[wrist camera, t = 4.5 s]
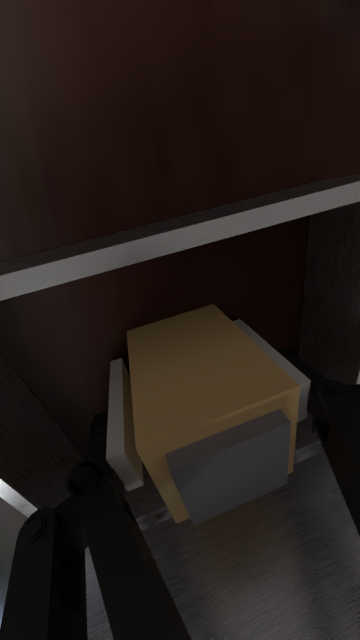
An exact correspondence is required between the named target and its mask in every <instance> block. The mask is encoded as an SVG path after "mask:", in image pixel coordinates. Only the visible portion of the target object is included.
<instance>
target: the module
mask: <svg viewBox="0 0 360 640" xmlns="http://www.w3.org/2000/svg"><path fill="white" fill-rule="evenodd" d="M127 342H128V354H129V367H130V380H131V393H132V406H133V419H134V432H135V444H136V450H137V452H138V454H139V456H140V458H141V460H142V461H143V463H144V465H145V467H146V469H147V471H148V472H149V474H150V476H151V478H152V480H153V482H154V483H155V485H156V487H157V489H158V491H159V493H160V494H161V496H162V498H163V500H164V502H165V504H166V505H167V507H168V509H169V511H170V513H171V515H172V516H173V518H174V520H175V522H176V524H177V523H179V522H181V521H183V520H186V519H188V518H190V519H191V521H192V523H193V525H194V526H195V525H197V524H199V523H201V522H204V521H206V520H208V519H210V518H213V517H215V516H217V515H219V514H222V513H224V512H226V511H228V510H231V509H233V508H235V507H237V506H240V505H242V504H244V503H246V502H248V501H251V500H253V499H255V498H257V497H260V496H262V495H264V494H266V493H269V492H271V491H273V490H275V489H278V488H280V487H282V486H284V485H287V479H288V474H290V473H292V472H293V464H294V452H295V440H296V429H297V417H298V405H299V393H300V385H299V384H298V383H297V382H296V381H294V380H293V379H292V378H291V377H290V376H289V375H288V374H287V373H286V372H285V371H284V370H283V369H282V368H281V367H280V366H279V365H278V364H277V363H276V362H274V361H273V360H272V359H271V358H270V357H269V356H268V355H267V354H266V353H265V352H264V351H263V350H262V349H261V348H260V347H259V346H258V345H257V344H256V343H254V342H253V341H252V340H251V339H250V338H249V337H248V336H247V335H246V334H245V333H244V332H243V331H242V330H241V329H240V328H239V327H238V326H237V325H236V324H234V323H233V322H232V321H231V320H230V319H229V318H228V317H227V316H226V315H225V314H224V313H223V312H222V311H221V310H220V309H219V308H218V307H217V306H215V305H214V304H211V305H208V306H205V307H201V308H198V309H195V310H192V311H189V312H186V313H182V314H179V315H176V316H173V317H170V318H167V319H163V320H160V321H157V322H154V323H151V324H148V325H144V326H141V327H138V328H135V329H132V330H129V331H127Z"/></svg>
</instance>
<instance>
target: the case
mask: <svg viewBox="0 0 360 640" xmlns="http://www.w3.org/2000/svg"><path fill="white" fill-rule="evenodd" d="M308 215H309V228H308V241H307V255H306V268H305V281H304V295H303V308H302V322H301V335H300V348H299V358H302V359H303V360H304V361H305V362H307V363H308V364H309V365H310V366H312V367H313V368H314V369H315V370H317V371H318V372H319V373H321V374H322V375H323V376H324V377H326V378H327V379H334V380H337V381H340V382H342V383H344V384H346V385H353V384H360V174H356V175H350V176H344V177H337V178H331V179H325V180H320V181H316V182H312V183H308V184H304V185H300V186H296V187H293V188H289V189H285V190H281V191H277V192H273V193H269V194H265V195H261V196H257V197H254V198H250V199H246V200H242V201H238V202H234V203H230V204H226V205H222V206H218V207H214V208H211V209H207V210H203V211H199V212H195V213H191V214H187V215H183V216H179V217H175V218H172V219H168V220H164V221H160V222H156V223H152V224H148V225H144V226H140V227H136V228H133V229H129V230H125V231H121V232H117V233H113V234H109V235H105V236H101V237H97V238H93V239H90V240H86V241H82V242H78V243H74V244H70V245H66V246H62V247H58V248H54V249H51V250H47V251H43V252H39V253H35V254H31V255H27V256H23V257H19V258H15V259H12V260H8V261H4V262H0V301H1V300H5V299H9V298H12V297H16V296H19V295H23V294H27V293H30V292H34V291H37V290H41V289H45V288H48V287H52V286H55V285H59V284H63V283H66V282H70V281H73V280H77V279H81V278H84V277H88V276H92V275H95V274H99V273H102V272H106V271H110V270H113V269H117V268H120V267H124V266H128V265H131V264H135V263H138V262H142V261H146V260H149V259H153V258H156V257H160V256H164V255H167V254H171V253H175V252H178V251H182V250H185V249H189V248H193V247H196V246H200V245H203V244H207V243H211V242H214V241H218V240H221V239H225V238H229V237H232V236H236V235H239V234H243V233H247V232H250V231H254V230H258V229H261V228H265V227H268V226H272V225H276V224H279V223H283V222H286V221H290V220H294V219H297V218H301V217H304V216H308ZM312 420H313V417H312V415H311V414H310V413H309V412H308V411H307V417H306V419H304V420H302V421H299V422H297V429H296V440H295V452H294V464H293V472H292V473H290V474H288V479H287V485H284V486H282V487H280V488H278V489H275V490H273V491H271V492H269V493H266V494H264V495H262V496H260V497H257V498H255V499H253V500H251V501H248V502H246V503H244V504H242V505H240V506H237V507H235V508H233V509H231V510H228V511H226V512H224V513H222V514H219V515H217V516H215V517H213V518H210V519H208V520H206V521H204V522H201V523H199V524H197V525H195V526H194V525H193V523H192V521H191V519H190V518H188V519H186V520H183V521H181V522H179V523H177V524H176V522H175V520H174V518H173V516H172V515H171V513H170V511H169V509H168V507H167V505H166V504H165V502H164V500H163V498H162V496H161V494H160V493H159V491H158V489H157V487H156V485H155V483H154V482H153V480H152V478H151V476H150V474H149V472H148V471H147V469H146V467H145V465H144V463H143V461H142V471H143V481H144V485H143V486H140V487H138V488H135V489H133V490H130V491H127V489H126V488H125V486H124V490H125V499H126V500H127V502H128V504H129V506H130V508H131V510H132V512H133V515H134V517H135V519H136V521H137V523H138V525H139V528H140V530H141V532H142V534H143V536H144V538H145V540H146V543H147V545H148V547H149V549H150V551H151V553H152V555H153V558H154V560H155V562H156V564H157V566H158V568H159V571H160V573H161V575H162V577H163V579H164V581H165V583H166V586H167V588H168V590H169V592H170V594H171V596H172V599H173V601H174V603H175V605H176V607H177V609H178V611H179V614H180V616H181V618H182V620H183V622H184V624H185V627H186V629H187V631H188V633H189V635H190V637H191V639H192V640H360V536H359V534H358V532H357V529H356V527H355V524H354V522H353V519H352V517H351V514H350V512H349V510H348V507H347V505H346V502H345V500H344V497H343V495H342V493H341V490H340V488H339V485H338V483H337V480H336V478H335V475H334V473H333V471H332V468H331V466H330V463H329V461H328V458H327V456H326V454H325V451H324V449H323V446H322V444H321V441H320V439H319V437H318V434H317V432H316V429H315V433H312V430H311V428H312ZM82 460H84V458H83V457H82V456H81V455H80V453H79V452H78V451H77V449H76V448H75V447H74V446H73V444H72V443H71V442H70V440H69V439H68V438H67V437H66V435H65V434H64V433H63V432H62V430H61V429H60V428H59V426H58V425H57V424H56V423H55V421H54V420H53V419H52V417H51V416H50V415H49V414H48V412H47V411H46V410H45V408H44V407H43V406H42V405H41V403H40V402H39V401H38V400H37V398H36V397H35V396H34V394H33V393H32V392H31V391H30V389H29V388H28V387H27V385H26V384H25V383H24V382H23V380H22V379H21V378H20V377H19V375H18V374H17V373H16V371H15V370H14V369H13V368H12V366H11V365H10V364H9V362H8V361H7V360H6V359H5V357H4V356H3V355H2V353H1V352H0V497H1V498H2V499H4V500H5V501H6V502H8V503H9V504H10V505H12V506H13V507H14V508H16V509H17V510H18V511H20V512H21V513H22V514H24V515H25V516H26V517H28V518H29V517H30V516H31V514H32V513H34V512H35V511H36V510H38V509H39V508H42V507H45V506H48V507H52V508H53V509H54V508H55V507H56V506H58V505H59V504H60V503H62V502H63V501H64V500H65V499H67V498H68V497H69V496H70V495H71V494H70V493H69V492H68V491H67V490H66V481H67V478H68V475H69V473H70V472H71V470H72V469H73V467H74V466H76V465H77V464H78V463H79V462H80V461H82ZM85 565H86V601H87V636H88V640H114V639H113V636H112V632H111V628H110V624H109V621H108V617H107V613H106V610H105V606H104V602H103V598H102V595H101V591H100V587H99V584H98V580H97V576H96V572H95V569H94V565H93V561H92V558H91V554H90V550H89V547H87V548H86V549H85Z"/></svg>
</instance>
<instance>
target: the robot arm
mask: <svg viewBox="0 0 360 640" xmlns="http://www.w3.org/2000/svg"><path fill="white" fill-rule="evenodd" d="M232 322H233V323H234V324H236V325H237V326H238V327H239V328H240V329H241V330H242V331H243V332H244V333H245V334H246V335H247V336H248V337H249V338H250V339H251V340H252V341H253V342H254V343H256V344H257V345H258V346H259V347H260V348H261V349H262V350H263V351H264V352H265V353H266V354H267V355H268V356H269V357H270V358H271V359H272V360H273V361H274V362H276V363H277V364H278V365H279V366H280V367H281V368H282V369H283V370H284V371H285V372H286V373H287V374H288V375H289V376H290V377H291V378H292V379H293V380H294V381H296V382H297V383H298V384H299V385H300V393H299V405H298V417H297V422H299V421H302V420H304V419H306V417H307V411H308V412H309V413H310V414H311V415H312V417H313V420H312V428H311V430H312V433H315V429H316V432H317V434H318V437H319V439H320V441H321V444H322V446H323V449H324V451H325V454H326V456H327V458H328V461H329V463H330V466H331V468H332V471H333V473H334V475H335V478H336V480H337V483H338V485H339V488H340V490H341V493H342V495H343V497H344V500H345V502H346V505H347V507H348V510H349V512H350V514H351V517H352V519H353V522H354V524H355V527H356V529H357V532H358V534H359V536H360V384H353V385H346V384H344V383H342V382H340V381H337V380H334V379H327V378H326V377H324V376H323V375H322V374H321V373H319V372H318V371H317V370H315V369H314V368H313V367H312V366H310V365H309V364H308V363H307V362H305V361H304V360H303V359H302V358H299V356H298V355H297V354H295V353H294V352H293V351H291V350H289V349H286V348H284V347H283V348H280V349H277V350H275V349H274V348H273V347H272V346H271V345H269V344H268V343H267V342H266V341H265V340H264V339H262V338H261V337H260V336H259V335H258V334H257V333H256V332H254V331H253V330H252V329H251V328H250V327H249V326H248V325H246V324H245V323H244V322H243V321H242V320H241V319H238V320H235V321H232ZM143 485H144V481H143V471H142V460H141V458H140V456H139V454H138V452H137V450H136V444H135V432H134V419H133V406H132V393H131V380H130V376H129V373H128V371H127V369H126V366H125V364H124V362H123V360H122V358H119V359H116V360H113V361H110V383H109V404H108V411H105V412H102V413H99V414H97V415H95V417H94V419H93V421H92V423H91V426H90V435H89V443H88V450H87V458H86V459H84V460H82V461H80V462H79V463H78V464H77V465H76V466H74V467H73V469H72V470H71V472H70V473H69V475H68V478H67V481H66V490H67V491H68V492H69V493H70V494H71V495H70V496H69V497H68V498H67V499H65V500H64V501H63V502H62V503H60V504H59V505H58V506H56V507H55V508H54V509H53V508H52V507H48V506H45V507H42V508H39V509H38V510H36V511H35V512H34V513H32V514H31V516H30V517H29V518H28V519H27V520H26V521H25V523H24V524H23V526H22V528H21V530H20V532H19V535H18V538H17V542H16V547H15V552H14V558H13V563H12V568H11V574H10V579H9V585H8V590H7V595H6V601H5V606H4V612H3V617H2V622H1V628H0V640H88V636H87V601H86V565H85V549H86V548H87V547H89V550H90V554H91V558H92V561H93V565H94V569H95V572H96V576H97V580H98V584H99V587H100V591H101V595H102V598H103V602H104V606H105V610H106V613H107V617H108V621H109V624H110V628H111V632H112V636H113V639H114V640H192V639H191V637H190V635H189V633H188V631H187V629H186V627H185V624H184V622H183V620H182V618H181V616H180V614H179V611H178V609H177V607H176V605H175V603H174V601H173V599H172V596H171V594H170V592H169V590H168V588H167V586H166V583H165V581H164V579H163V577H162V575H161V573H160V571H159V568H158V566H157V564H156V562H155V560H154V558H153V555H152V553H151V551H150V549H149V547H148V545H147V543H146V540H145V538H144V536H143V534H142V532H141V530H140V528H139V525H138V523H137V521H136V519H135V517H134V515H133V512H132V510H131V508H130V506H129V504H128V502H127V500H126V499H125V490H124V486H125V488H126V489H127V491H130V490H133V489H135V488H138V487H140V486H143Z"/></svg>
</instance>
